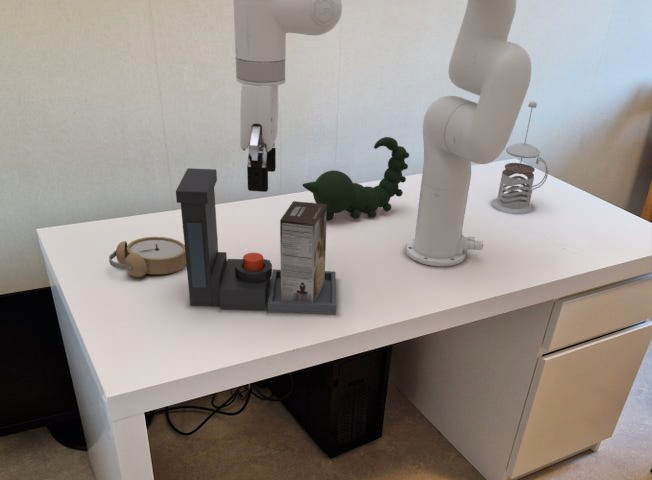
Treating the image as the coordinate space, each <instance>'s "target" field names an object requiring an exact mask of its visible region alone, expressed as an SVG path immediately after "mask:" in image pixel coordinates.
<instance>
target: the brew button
mask: <svg viewBox="0 0 652 480" xmlns="http://www.w3.org/2000/svg"><path fill="white" fill-rule="evenodd" d="M242 259H243V265H244V269H246V270H249V271H257V270H261V269H263V268H264V261H263V259H264V255H263V254H261V253H259V252H248V253H245V254H244V255H243V257H242Z"/></svg>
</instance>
